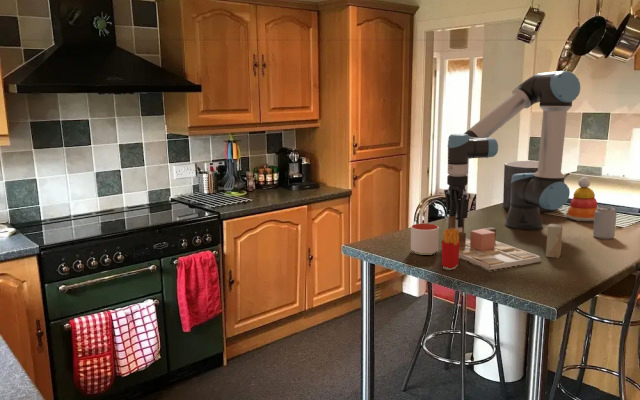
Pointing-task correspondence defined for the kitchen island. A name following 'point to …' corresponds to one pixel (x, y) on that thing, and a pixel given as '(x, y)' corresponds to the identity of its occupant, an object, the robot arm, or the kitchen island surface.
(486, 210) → the kitchen island surface
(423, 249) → the cup
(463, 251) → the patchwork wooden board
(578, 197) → the stacking toy
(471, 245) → the cube
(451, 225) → the brown upright blocks
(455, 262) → the french fries
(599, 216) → the can
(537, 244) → the kitchen island surface
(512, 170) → the planter
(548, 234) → the box
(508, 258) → the lane board
